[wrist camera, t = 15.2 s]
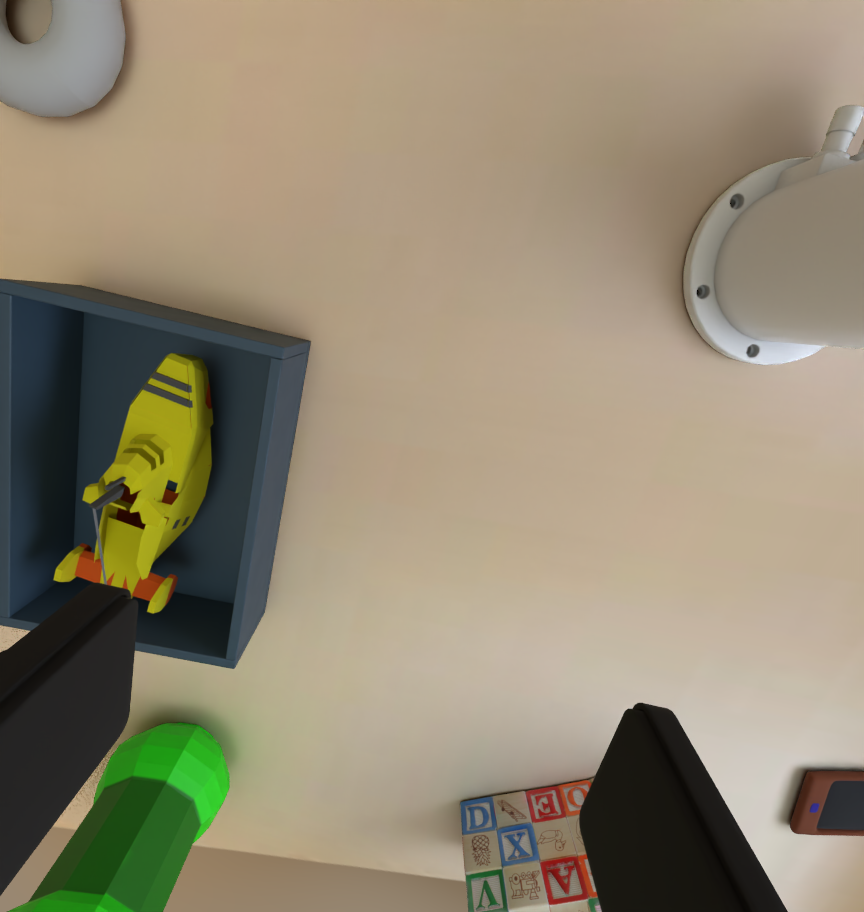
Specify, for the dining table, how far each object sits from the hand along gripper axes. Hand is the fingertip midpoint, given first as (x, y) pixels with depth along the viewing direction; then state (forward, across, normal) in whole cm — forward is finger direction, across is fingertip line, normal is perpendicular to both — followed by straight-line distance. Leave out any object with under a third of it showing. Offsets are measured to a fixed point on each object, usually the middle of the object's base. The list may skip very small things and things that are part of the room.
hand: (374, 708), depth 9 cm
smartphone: (+28, -50, +26) cm, 63 cm away
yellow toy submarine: (+26, +16, +8) cm, 32 cm away
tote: (+26, +16, +8) cm, 32 cm away
